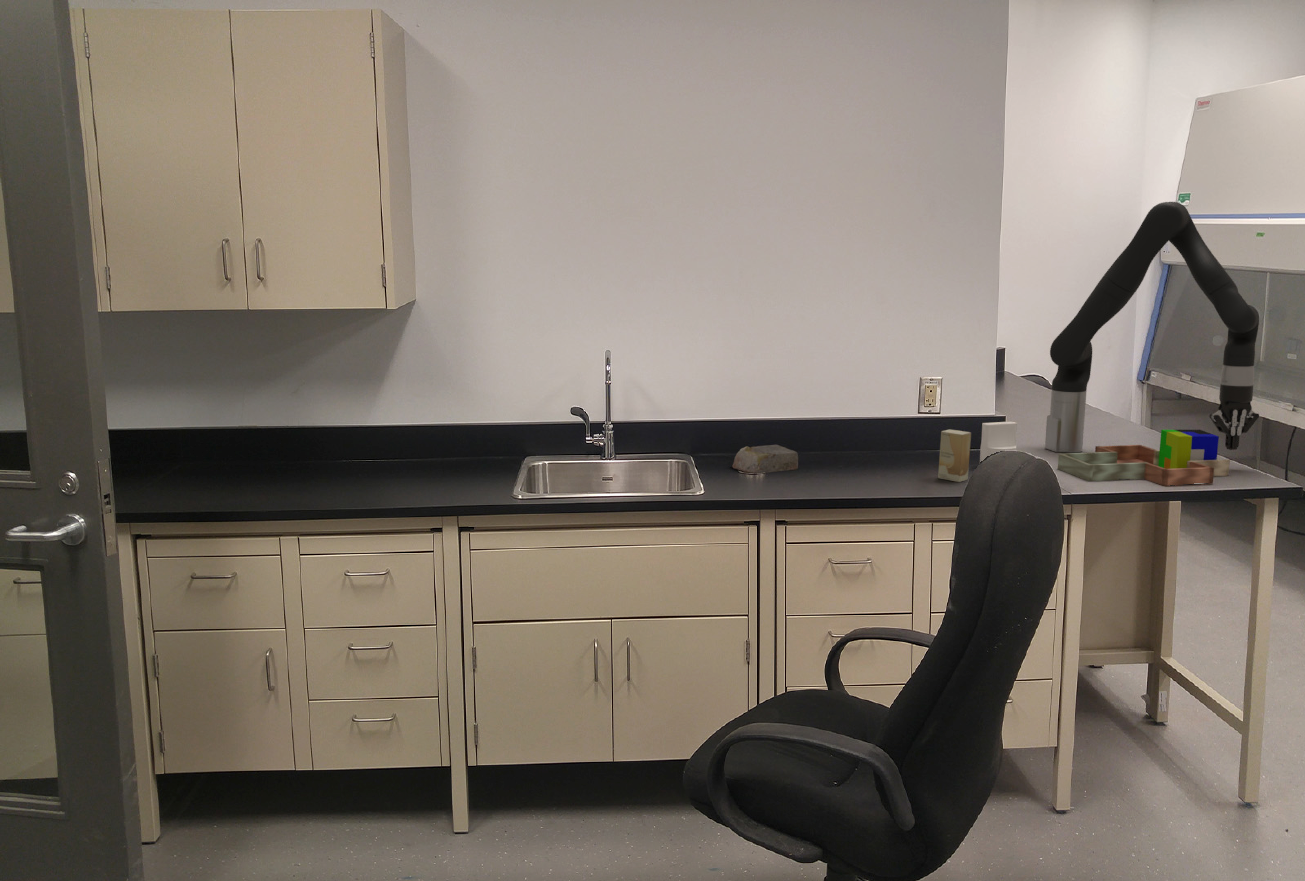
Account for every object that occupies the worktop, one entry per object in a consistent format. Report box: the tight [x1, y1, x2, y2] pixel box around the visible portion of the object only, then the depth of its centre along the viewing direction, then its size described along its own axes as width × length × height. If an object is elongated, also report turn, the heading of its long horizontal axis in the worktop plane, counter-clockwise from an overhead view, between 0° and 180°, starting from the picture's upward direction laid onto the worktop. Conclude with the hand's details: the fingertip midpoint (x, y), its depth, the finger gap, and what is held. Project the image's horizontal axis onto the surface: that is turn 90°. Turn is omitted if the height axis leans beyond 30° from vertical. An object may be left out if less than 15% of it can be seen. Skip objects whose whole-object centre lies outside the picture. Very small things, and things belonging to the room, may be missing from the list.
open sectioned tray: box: [1057, 444, 1231, 487], centre depth 276 cm, size 38×31×4 cm
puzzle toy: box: [1158, 429, 1220, 469], centre depth 277 cm, size 10×10×10 cm
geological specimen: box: [731, 444, 799, 475], centre depth 284 cm, size 11×6×15 cm
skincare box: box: [937, 429, 972, 483], centre depth 268 cm, size 6×4×12 cm
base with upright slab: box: [979, 421, 1018, 463], centre depth 281 cm, size 9×9×12 cm
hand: (1231, 449), depth 278 cm, fingers closed
